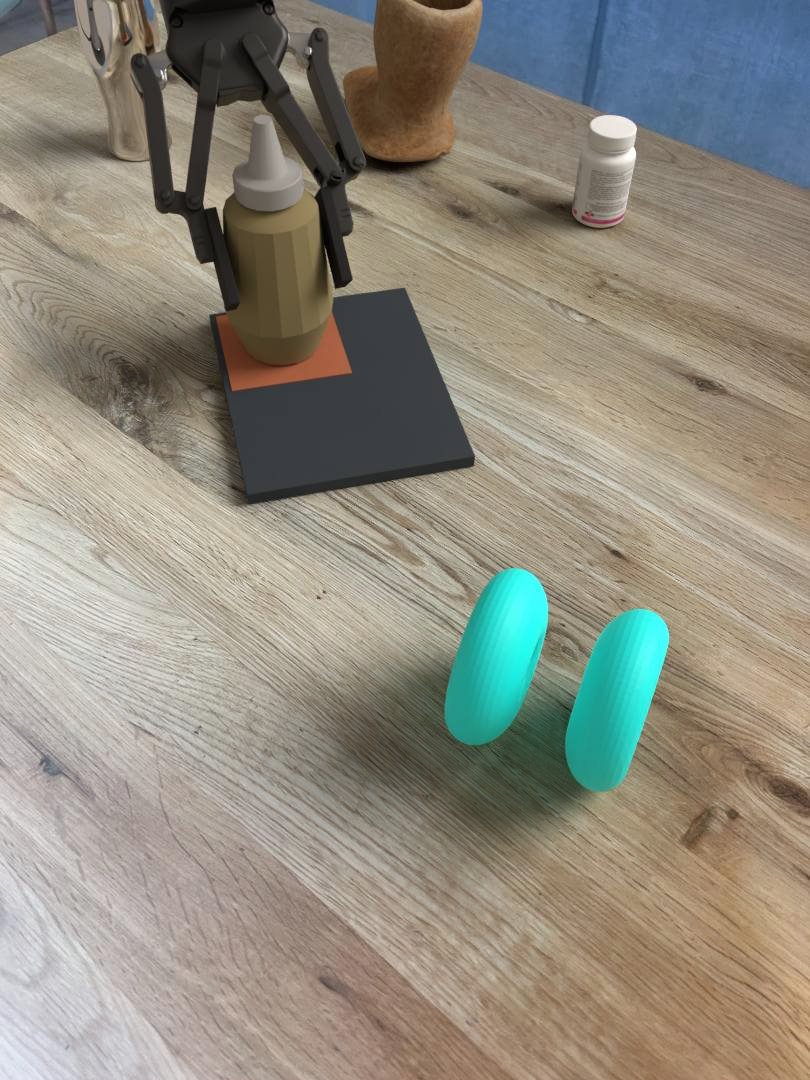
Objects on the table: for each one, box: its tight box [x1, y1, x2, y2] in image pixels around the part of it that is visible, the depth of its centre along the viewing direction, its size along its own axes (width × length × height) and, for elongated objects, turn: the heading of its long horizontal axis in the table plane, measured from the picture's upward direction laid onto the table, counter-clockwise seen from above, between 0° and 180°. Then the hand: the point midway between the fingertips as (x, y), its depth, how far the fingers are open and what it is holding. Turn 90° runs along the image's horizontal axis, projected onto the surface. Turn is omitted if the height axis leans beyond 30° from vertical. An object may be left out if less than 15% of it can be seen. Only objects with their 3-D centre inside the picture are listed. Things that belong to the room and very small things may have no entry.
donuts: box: [444, 567, 670, 793], centre depth 57 cm, size 10×10×10 cm
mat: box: [208, 287, 476, 505], centre depth 79 cm, size 20×16×1 cm
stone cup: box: [342, 0, 483, 163], centre depth 98 cm, size 15×12×15 cm
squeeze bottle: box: [222, 114, 334, 365], centre depth 74 cm, size 8×8×18 cm
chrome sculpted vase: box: [73, 0, 173, 162], centre depth 96 cm, size 7×7×15 cm
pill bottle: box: [571, 114, 637, 229], centre depth 92 cm, size 5×5×8 cm
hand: (289, 295), depth 73 cm, fingers open, 7 cm apart
